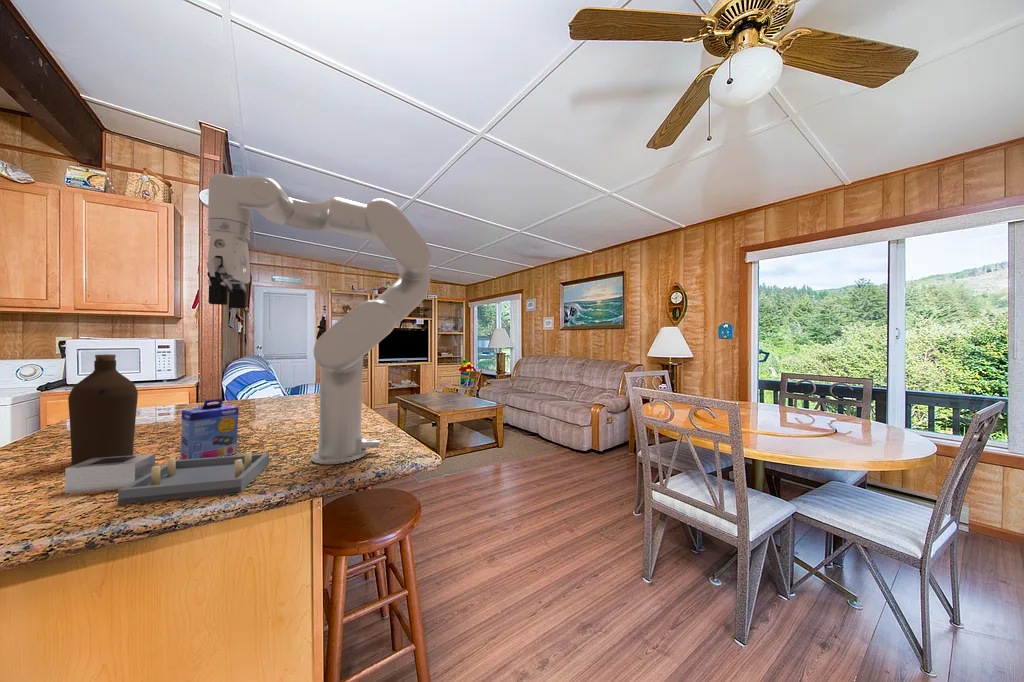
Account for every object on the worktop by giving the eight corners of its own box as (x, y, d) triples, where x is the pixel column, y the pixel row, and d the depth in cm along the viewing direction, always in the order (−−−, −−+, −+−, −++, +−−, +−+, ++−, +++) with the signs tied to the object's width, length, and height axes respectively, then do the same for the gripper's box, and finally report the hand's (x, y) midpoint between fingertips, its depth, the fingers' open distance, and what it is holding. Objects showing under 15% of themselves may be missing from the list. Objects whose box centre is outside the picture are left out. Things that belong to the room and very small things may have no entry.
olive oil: (147, 455, 86) (149, 354, 86) (86, 471, 75) (88, 356, 75) (118, 451, 88) (120, 353, 88) (54, 465, 78) (57, 354, 78)
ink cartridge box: (188, 465, 80) (190, 402, 80) (178, 461, 82) (179, 400, 82) (239, 453, 88) (240, 396, 88) (228, 450, 91) (229, 395, 91)
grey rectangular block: (154, 477, 73) (155, 453, 73) (134, 489, 68) (135, 462, 68) (91, 482, 70) (92, 457, 70) (64, 495, 64) (65, 468, 64)
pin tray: (269, 463, 82) (269, 444, 82) (241, 491, 67) (241, 468, 67) (172, 471, 76) (172, 451, 76) (117, 504, 61) (118, 479, 61)
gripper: (232, 222, 73) (231, 303, 73) (262, 243, 89) (260, 310, 89) (188, 217, 70) (186, 301, 70) (226, 240, 87) (225, 308, 87)
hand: (228, 306), depth 80 cm, fingers open, 9 cm apart
